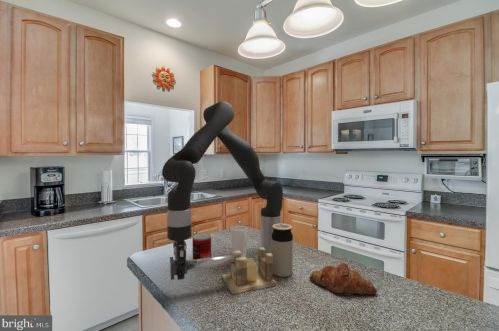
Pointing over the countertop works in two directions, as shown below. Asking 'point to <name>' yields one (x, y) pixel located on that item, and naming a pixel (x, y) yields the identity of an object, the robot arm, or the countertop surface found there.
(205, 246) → the canned food
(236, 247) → the drinking glass
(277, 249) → the travel mug
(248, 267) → the block
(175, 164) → the robot arm
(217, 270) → the countertop surface
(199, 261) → the shaft
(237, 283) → the block
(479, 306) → the countertop surface
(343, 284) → the pastry
